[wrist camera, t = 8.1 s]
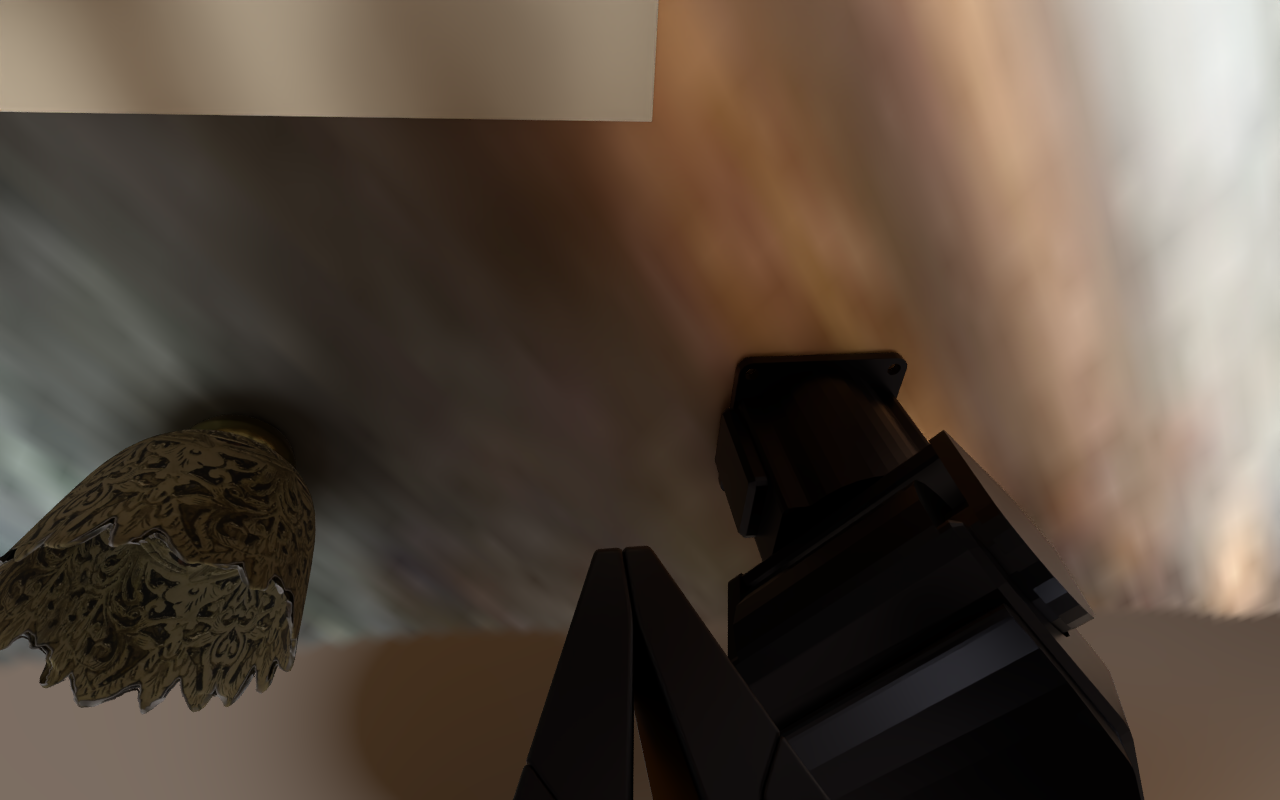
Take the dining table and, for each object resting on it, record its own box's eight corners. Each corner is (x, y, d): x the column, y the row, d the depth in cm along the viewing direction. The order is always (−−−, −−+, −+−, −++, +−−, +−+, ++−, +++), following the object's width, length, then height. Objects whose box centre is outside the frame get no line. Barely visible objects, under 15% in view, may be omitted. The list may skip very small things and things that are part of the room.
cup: (74, 382, 21) (-123, 585, 15) (299, 339, 21) (199, 522, 15) (201, 532, 26) (92, 737, 19) (386, 496, 26) (337, 688, 19)
